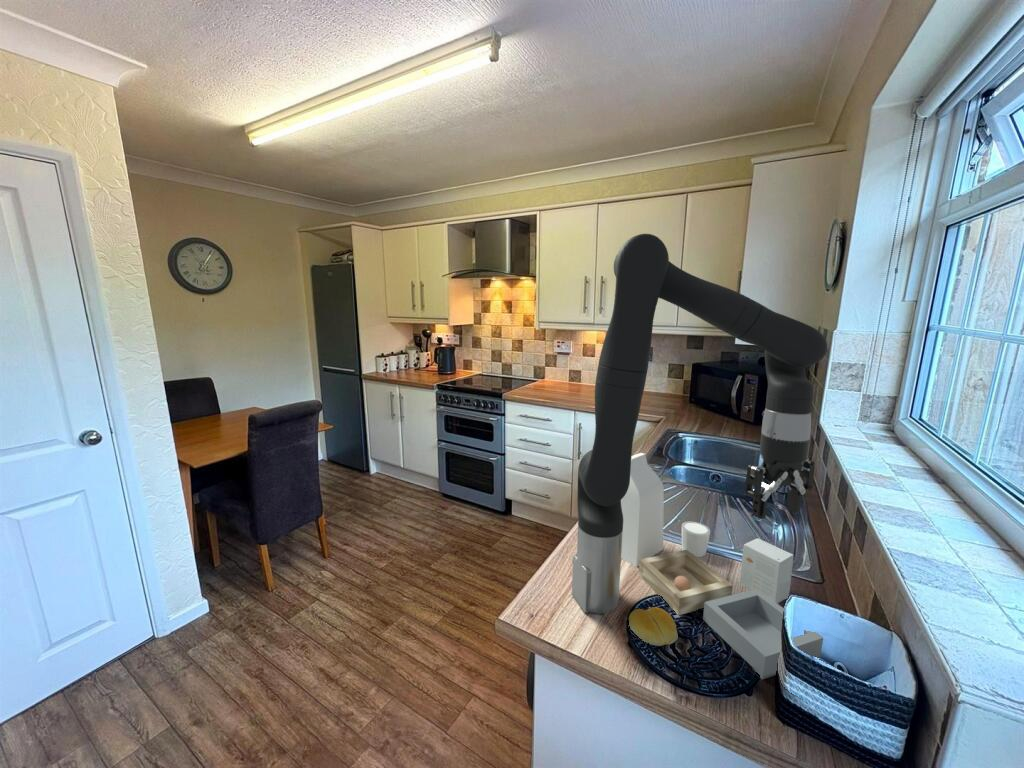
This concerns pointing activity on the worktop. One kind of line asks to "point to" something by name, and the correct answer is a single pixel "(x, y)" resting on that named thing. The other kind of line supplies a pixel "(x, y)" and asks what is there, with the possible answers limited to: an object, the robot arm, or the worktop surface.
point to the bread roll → (653, 626)
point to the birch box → (684, 563)
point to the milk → (642, 513)
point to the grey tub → (755, 629)
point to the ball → (682, 583)
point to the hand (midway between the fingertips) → (776, 513)
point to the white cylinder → (695, 538)
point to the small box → (766, 569)
